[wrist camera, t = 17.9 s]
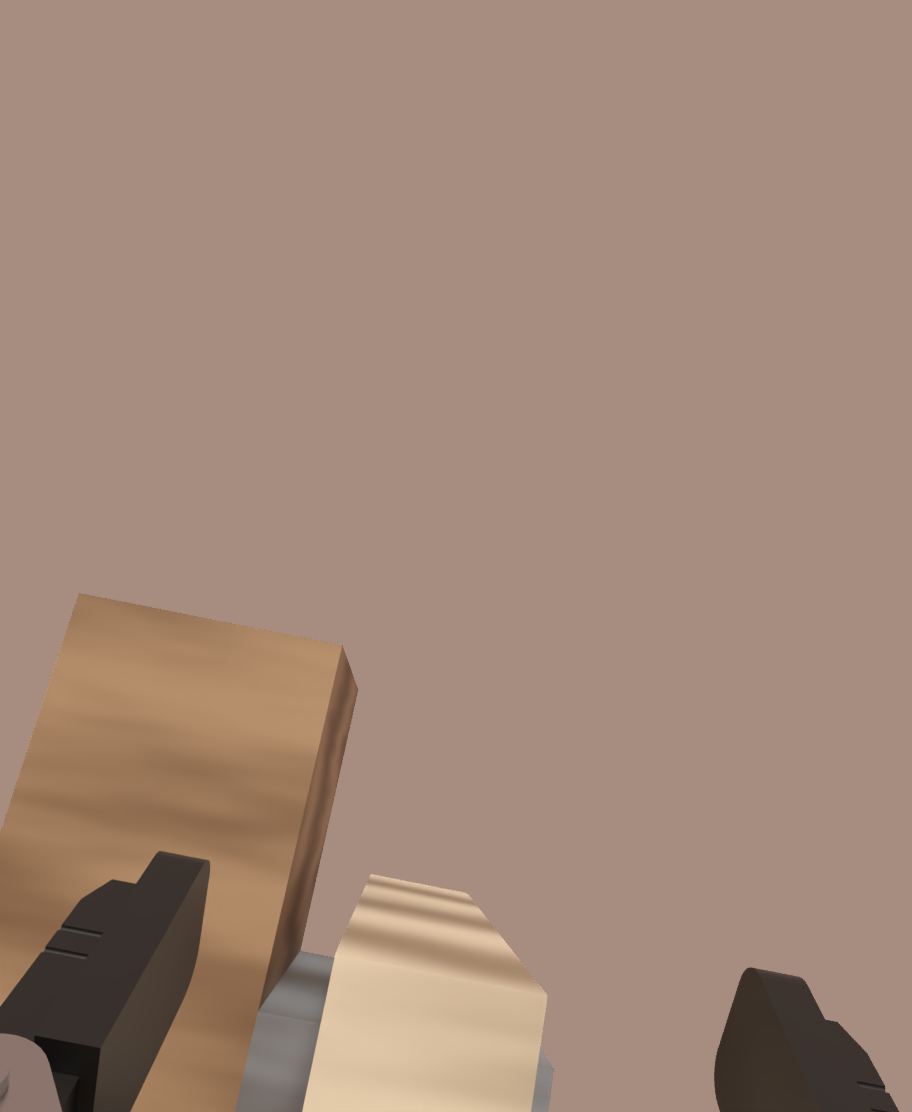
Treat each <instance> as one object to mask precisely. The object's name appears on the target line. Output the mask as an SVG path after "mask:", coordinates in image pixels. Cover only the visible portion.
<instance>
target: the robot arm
mask: <svg viewBox="0 0 912 1112" xmlns="http://www.w3.org/2000/svg"><path fill="white" fill-rule="evenodd" d="M209 876H210V861H209V860H205V859H200V858H195V857H190V856H185V855H180V854H175V853H170V852H164V851H159V852H158V853H156V855H155V856H154V858H153V859H152V861H151V862H150V864H149V865H148V866H147V868H146V869H145V871H144V872H143V874H142V875H141V877H140V878H139V880H138V881H137V883H136V884H135V883H129V882H124V881H119V880H114V879H112V880H110V881H109V882H107V883H105V884H104V885H102V886H101V887H99V888H97V889H96V890H94V891H93V892H91V893H90V894H88V895H86V896H85V897H83V898H82V899H81V900H80V901H79V902H78V904H77V905H76V906H75V908H74V909H73V910H72V912H71V913H70V914H69V916H68V917H67V918H66V920H65V921H64V922H63V924H62V926H61V929H60V930H57V932H56V933H55V934H54V936H53V937H52V938H51V940H50V941H49V942H48V944H47V945H46V946H45V950H44V952H41V953H40V954H39V956H38V957H37V958H36V960H35V961H34V962H33V964H32V965H31V966H30V968H29V969H28V970H27V972H26V973H25V974H24V976H23V977H22V978H21V980H20V981H19V982H18V984H17V985H16V986H15V988H14V989H13V990H12V992H11V993H10V994H9V995H8V997H7V998H6V999H5V1001H4V1002H3V1003H2V1005H1V1006H0V1112H130V1111H131V1109H132V1107H133V1105H134V1103H135V1101H136V1099H137V1097H138V1095H139V1092H140V1090H141V1088H142V1086H143V1084H144V1082H145V1080H146V1078H147V1076H148V1073H149V1071H150V1069H151V1067H152V1065H153V1063H154V1061H155V1059H156V1057H157V1054H158V1052H159V1050H160V1048H161V1046H162V1044H163V1042H164V1040H165V1038H166V1035H167V1033H168V1031H169V1029H170V1027H171V1025H172V1023H173V1021H174V1019H175V1016H176V1014H177V1012H178V1010H179V1008H180V1006H181V1004H182V1002H183V1000H184V997H185V995H186V992H187V990H188V987H189V984H190V981H191V978H192V975H193V972H194V968H195V964H196V960H197V956H198V951H199V944H200V938H201V931H202V924H203V917H204V910H205V903H206V897H207V890H208V883H209ZM714 1077H715V1078H714V1082H715V1093H716V1099H717V1102H718V1106H719V1110H720V1112H899V1111H898V1109H897V1107H896V1105H895V1103H894V1101H893V1100H892V1098H891V1096H890V1094H889V1093H886V1092H885V1085H884V1084H883V1081H882V1080H881V1078H880V1076H879V1074H878V1072H877V1070H876V1069H875V1067H874V1066H873V1063H872V1061H871V1060H870V1058H869V1056H868V1054H867V1053H866V1052H865V1051H864V1050H863V1049H862V1047H861V1046H860V1045H858V1043H857V1042H856V1041H855V1040H854V1039H853V1038H852V1037H851V1036H850V1035H849V1034H848V1033H847V1032H846V1031H845V1030H844V1029H843V1027H842V1026H841V1025H840V1024H838V1022H834V1021H829V1020H825V1019H824V1017H823V1015H822V1013H821V1011H820V1009H819V1007H818V1005H817V1003H816V1001H815V999H814V997H813V995H812V993H811V991H810V989H809V987H808V985H807V984H806V982H805V981H804V980H803V979H802V978H800V977H797V976H792V975H787V974H781V973H776V972H771V971H766V970H761V969H756V968H747V969H746V970H745V971H744V973H743V974H742V977H741V979H740V982H739V985H738V988H737V991H736V994H735V998H734V1001H733V1004H732V1007H731V1010H730V1013H729V1016H728V1020H727V1023H726V1026H725V1029H724V1032H723V1035H722V1038H721V1041H720V1045H719V1048H718V1051H717V1055H716V1061H715V1072H714Z"/></svg>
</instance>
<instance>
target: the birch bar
mask: <svg viewBox="0 0 912 1112" xmlns="http://www.w3.org/2000/svg"><path fill="white" fill-rule="evenodd" d="M546 1002H547V994H546V993H545V992H544V990H543V989H542V988H541V987H540V985H539V984H538V983H537V981H536V980H535V979H534V978H533V976H532V975H531V974H530V973H529V971H528V970H527V969H526V968H525V967H524V965H523V964H522V962H521V961H520V960H519V959H518V957H517V956H516V955H515V954H514V952H513V951H512V950H511V948H510V947H509V946H508V945H507V943H506V942H505V941H504V940H503V938H502V937H501V936H500V934H499V933H498V932H497V931H496V929H495V928H494V927H493V926H492V924H491V923H490V922H489V921H488V919H487V918H486V917H485V916H484V914H483V913H482V912H481V910H480V909H479V908H478V907H477V905H476V904H475V903H474V901H473V900H472V899H471V898H470V896H469V895H468V894H467V893H464V892H459V891H454V890H449V889H443V888H438V887H434V886H429V885H424V884H419V883H413V882H408V881H403V880H398V879H393V878H388V877H383V876H378V875H372V874H371V875H370V877H369V879H368V882H367V884H366V886H365V889H364V891H363V893H362V895H361V897H360V900H359V902H358V904H357V906H356V909H355V911H354V913H353V915H352V918H351V920H350V922H349V924H348V927H347V929H346V931H345V933H344V936H343V938H342V940H341V942H340V945H339V947H338V949H337V951H336V954H335V958H334V963H333V967H332V972H331V977H330V982H329V986H328V991H327V996H326V1001H325V1005H324V1010H323V1015H322V1020H321V1024H320V1029H319V1034H318V1039H317V1043H316V1048H315V1053H314V1058H313V1062H312V1067H311V1072H310V1077H309V1081H308V1086H307V1091H306V1096H305V1100H304V1105H303V1110H302V1112H531V1108H532V1101H533V1094H534V1087H535V1080H536V1073H537V1066H538V1059H539V1052H540V1045H541V1038H542V1031H543V1024H544V1017H545V1010H546Z"/></svg>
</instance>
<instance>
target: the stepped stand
mask: <svg viewBox="0 0 912 1112" xmlns="http://www.w3.org/2000/svg"><path fill="white" fill-rule="evenodd" d="M357 692H358V688H357V685H356V682H355V680H354V677H353V674H352V671H351V668H350V666H349V663H348V660H347V657H346V655H345V652H344V649H343V646H342V645H338V644H333V643H328V642H323V641H318V640H312V639H308V638H303V637H298V636H293V635H288V634H283V633H278V632H272V631H267V630H262V629H257V628H252V627H247V626H242V625H237V624H232V623H227V622H222V621H217V620H212V619H207V618H202V617H197V616H191V615H186V614H182V613H177V612H172V611H166V610H161V609H156V608H152V607H147V606H141V605H136V604H131V603H126V602H121V601H116V600H111V599H106V598H101V597H95V596H90V595H86V594H81V593H79V594H78V597H77V600H76V604H75V606H74V609H73V612H72V616H71V619H70V622H69V625H68V628H67V631H66V634H65V637H64V640H63V643H62V646H61V649H60V652H59V655H58V658H57V661H56V664H55V667H54V670H53V673H52V676H51V679H50V682H49V686H48V689H47V692H46V695H45V698H44V701H43V704H42V707H41V710H40V713H39V716H38V719H37V722H36V725H35V728H34V731H33V734H32V737H31V740H30V744H29V746H28V749H27V752H26V756H25V759H24V762H23V765H22V768H21V771H20V774H19V777H18V780H17V783H16V786H15V789H14V792H13V795H12V798H11V801H10V804H9V808H8V810H7V814H6V817H5V819H4V822H3V826H2V829H1V832H0V1006H1V1005H2V1003H3V1002H4V1001H5V999H6V998H7V997H8V995H9V994H10V993H11V992H12V990H13V989H14V988H15V986H16V985H17V984H18V982H19V981H20V980H21V978H22V977H23V976H24V974H25V973H26V972H27V970H28V969H29V968H30V966H31V965H32V964H33V962H34V961H35V960H36V958H37V957H38V956H39V954H40V953H41V952H44V950H45V946H46V945H47V944H48V942H49V941H50V940H51V938H52V937H53V936H54V934H55V933H56V932H57V930H60V929H61V926H62V924H63V922H64V921H65V920H66V918H67V917H68V916H69V914H70V913H71V912H72V910H73V909H74V908H75V906H76V905H77V904H78V902H79V901H80V900H81V899H82V898H83V897H85V896H86V895H88V894H90V893H91V892H93V891H94V890H96V889H97V888H99V887H101V886H102V885H104V884H105V883H107V882H109V881H110V880H112V879H114V880H119V881H124V882H129V883H135V884H136V883H137V881H138V880H139V878H140V877H141V875H142V874H143V872H144V871H145V869H146V868H147V866H148V865H149V864H150V862H151V861H152V859H153V858H154V856H155V855H156V853H158V852H159V851H164V852H170V853H175V854H180V855H185V856H190V857H195V858H200V859H205V860H209V861H210V876H209V883H208V890H207V897H206V903H205V910H204V917H203V924H202V931H201V938H200V944H199V951H198V956H197V960H196V964H195V968H194V972H193V975H192V978H191V981H190V984H189V987H188V990H187V992H186V995H185V997H184V1000H183V1002H182V1004H181V1006H180V1008H179V1010H178V1012H177V1014H176V1016H175V1019H174V1021H173V1023H172V1025H171V1027H170V1029H169V1031H168V1033H167V1035H166V1038H165V1040H164V1042H163V1044H162V1046H161V1048H160V1050H159V1052H158V1054H157V1057H156V1059H155V1061H154V1063H153V1065H152V1067H151V1069H150V1071H149V1073H148V1076H147V1078H146V1080H145V1082H144V1084H143V1086H142V1088H141V1090H140V1092H139V1095H138V1097H137V1099H136V1101H135V1103H134V1105H133V1107H132V1109H131V1111H130V1112H302V1110H303V1105H304V1100H305V1096H306V1091H307V1086H308V1081H309V1077H310V1072H311V1067H312V1062H313V1058H314V1053H315V1048H316V1043H317V1039H318V1034H319V1029H320V1024H321V1020H322V1015H323V1010H324V1005H325V1001H326V996H327V991H328V986H329V982H330V977H331V972H332V967H333V963H334V958H333V957H328V956H323V955H318V954H313V953H308V952H303V951H300V950H301V945H302V941H303V936H304V932H305V927H306V922H307V918H308V913H309V909H310V904H311V900H312V895H313V891H314V886H315V882H316V877H317V873H318V868H319V864H320V859H321V855H322V850H323V846H324V841H325V837H326V832H327V828H328V823H329V819H330V814H331V810H332V805H333V801H334V796H335V791H336V787H337V783H338V778H339V773H340V769H341V765H342V760H343V755H344V751H345V746H346V741H347V738H348V733H349V728H350V724H351V719H352V715H353V710H354V706H355V701H356V697H357ZM553 1072H554V1069H553V1067H552V1065H551V1063H550V1062H549V1060H548V1058H547V1057H546V1055H545V1053H544V1051H543V1050H542V1048H541V1046H540V1052H539V1059H538V1066H537V1073H536V1080H535V1087H534V1094H533V1101H532V1108H531V1112H548V1109H549V1101H550V1094H551V1087H552V1079H553Z"/></svg>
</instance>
